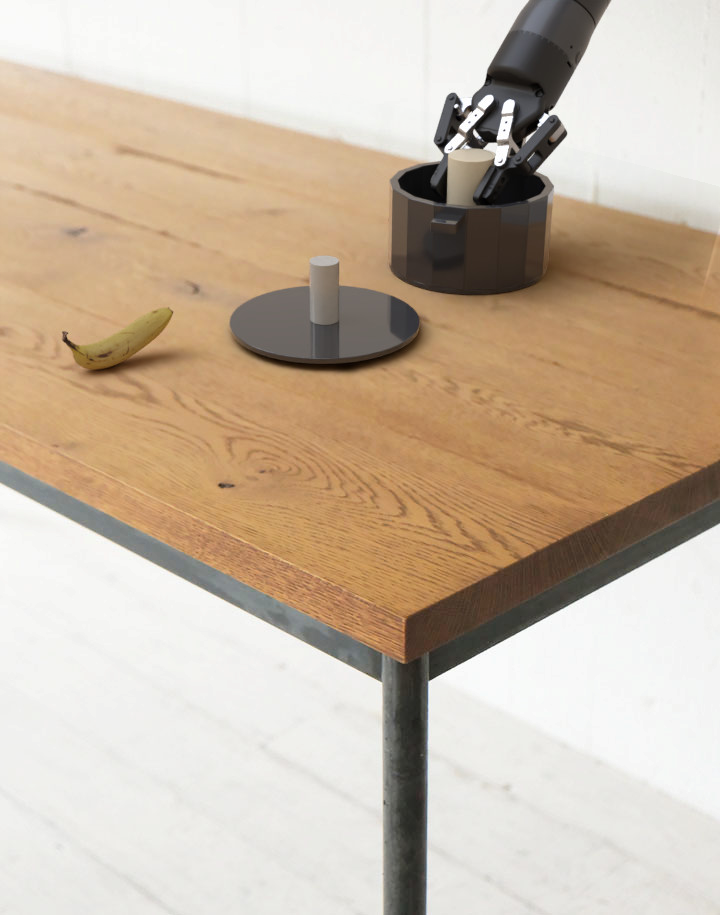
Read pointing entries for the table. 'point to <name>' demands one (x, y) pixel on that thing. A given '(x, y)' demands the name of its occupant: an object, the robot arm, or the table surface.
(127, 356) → the banana
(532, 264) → the pot
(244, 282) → the table surface
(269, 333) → the lid
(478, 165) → the beige wooden cylinder
